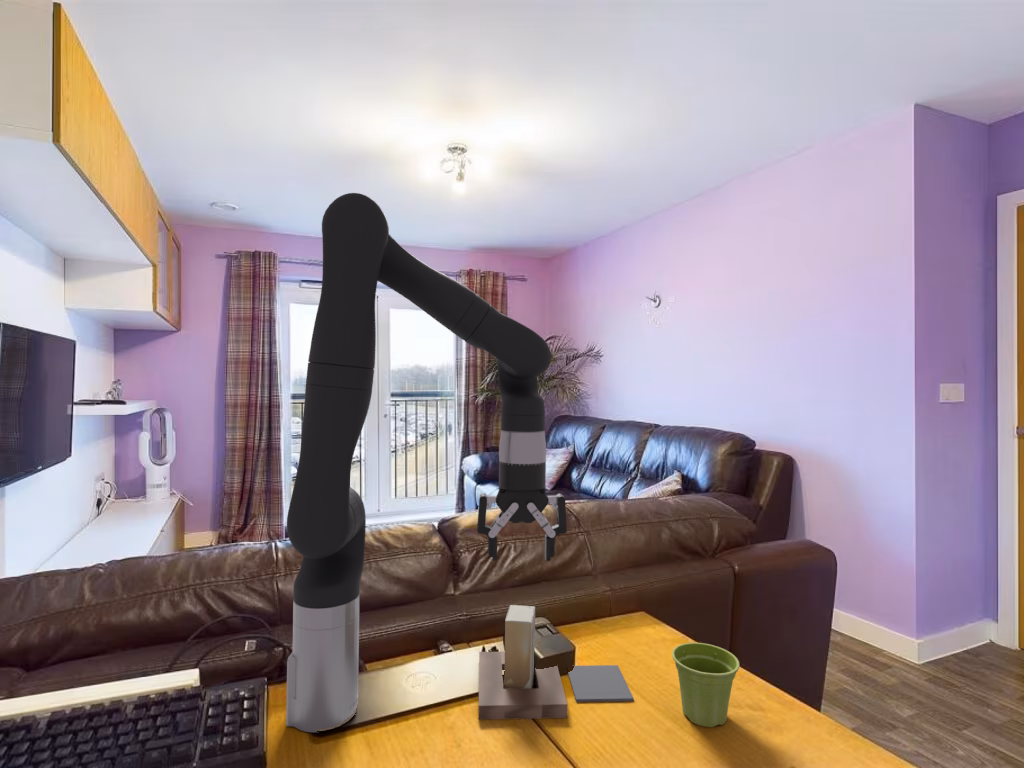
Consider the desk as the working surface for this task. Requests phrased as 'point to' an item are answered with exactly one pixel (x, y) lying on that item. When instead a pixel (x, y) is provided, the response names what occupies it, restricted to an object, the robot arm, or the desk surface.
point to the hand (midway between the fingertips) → (521, 559)
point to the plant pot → (705, 681)
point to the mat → (599, 684)
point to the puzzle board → (518, 692)
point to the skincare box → (519, 647)
